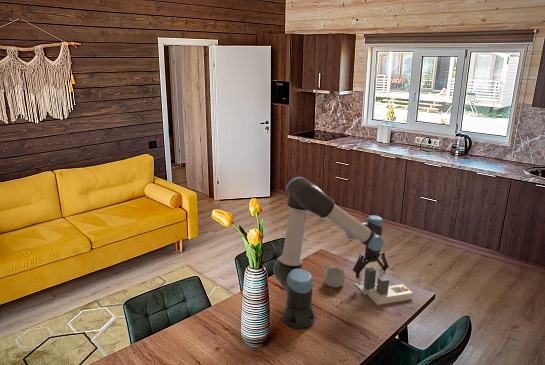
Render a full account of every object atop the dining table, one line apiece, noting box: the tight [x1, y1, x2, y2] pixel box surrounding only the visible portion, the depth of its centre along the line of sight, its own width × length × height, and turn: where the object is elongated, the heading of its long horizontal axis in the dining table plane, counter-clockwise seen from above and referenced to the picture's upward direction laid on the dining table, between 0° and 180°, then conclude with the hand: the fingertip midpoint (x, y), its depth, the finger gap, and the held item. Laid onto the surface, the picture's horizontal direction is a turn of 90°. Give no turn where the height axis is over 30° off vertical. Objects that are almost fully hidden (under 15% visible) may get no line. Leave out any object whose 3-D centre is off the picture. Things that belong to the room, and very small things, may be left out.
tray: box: [354, 281, 377, 296], centre depth 228 cm, size 11×11×1 cm
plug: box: [363, 266, 377, 290], centre depth 227 cm, size 4×4×11 cm
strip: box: [367, 275, 414, 306], centre depth 218 cm, size 20×9×12 cm, turn 107°
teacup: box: [324, 265, 346, 289], centre depth 232 cm, size 14×11×8 cm
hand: (369, 281), depth 227 cm, fingers open, 13 cm apart
